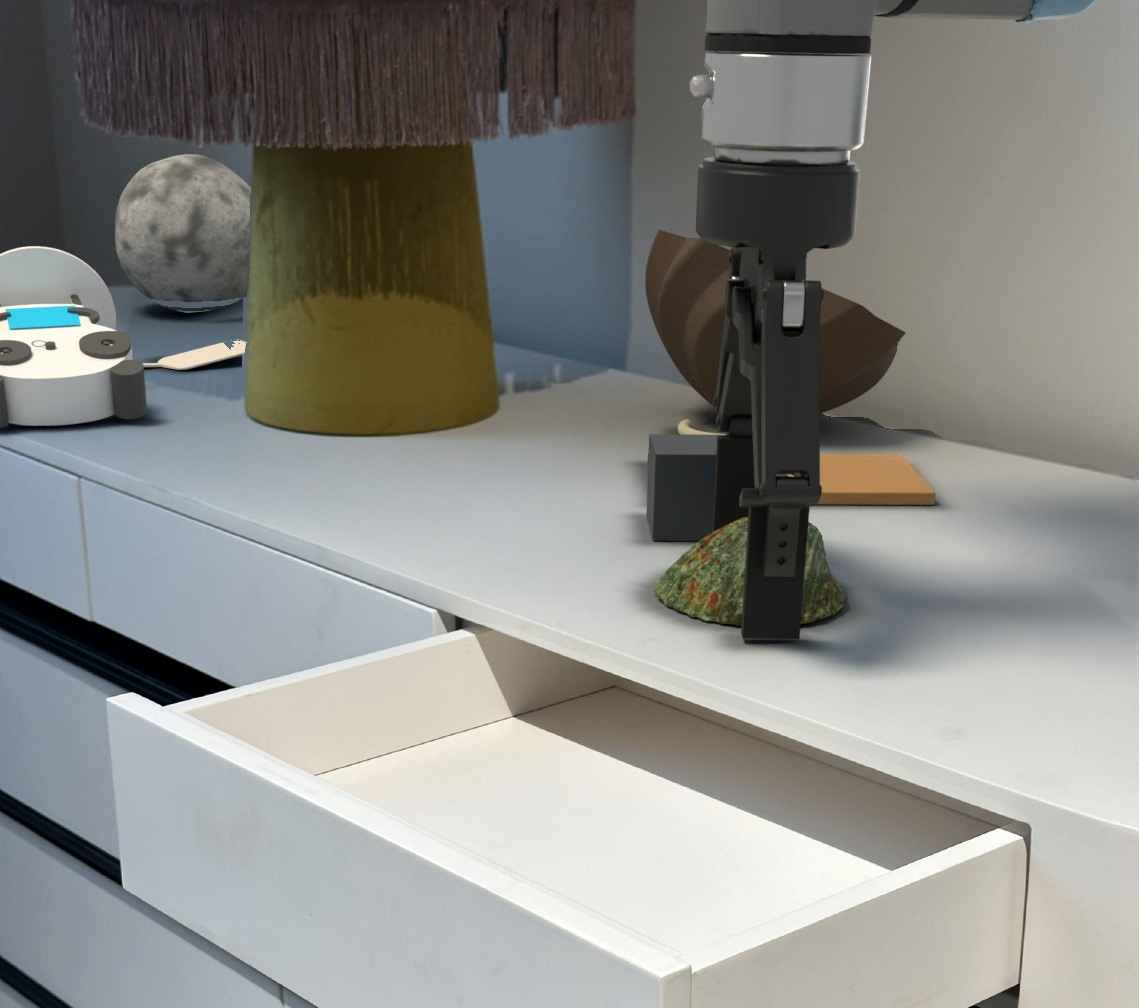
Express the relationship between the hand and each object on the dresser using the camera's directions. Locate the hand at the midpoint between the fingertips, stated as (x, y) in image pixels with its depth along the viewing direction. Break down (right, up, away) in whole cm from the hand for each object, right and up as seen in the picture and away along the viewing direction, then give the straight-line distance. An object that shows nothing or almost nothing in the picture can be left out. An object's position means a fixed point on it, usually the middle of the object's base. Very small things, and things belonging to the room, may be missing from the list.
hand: (751, 593), depth 87 cm
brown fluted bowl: (+6, +26, +35) cm, 44 cm away
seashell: (0, 0, 0) cm, 0 cm away
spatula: (-50, +23, +52) cm, 75 cm away
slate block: (-2, +5, +11) cm, 13 cm away
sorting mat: (+4, +9, +21) cm, 24 cm away
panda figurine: (-50, +26, +44) cm, 71 cm away
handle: (+1, +13, +30) cm, 33 cm away
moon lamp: (-49, +39, +72) cm, 96 cm away
